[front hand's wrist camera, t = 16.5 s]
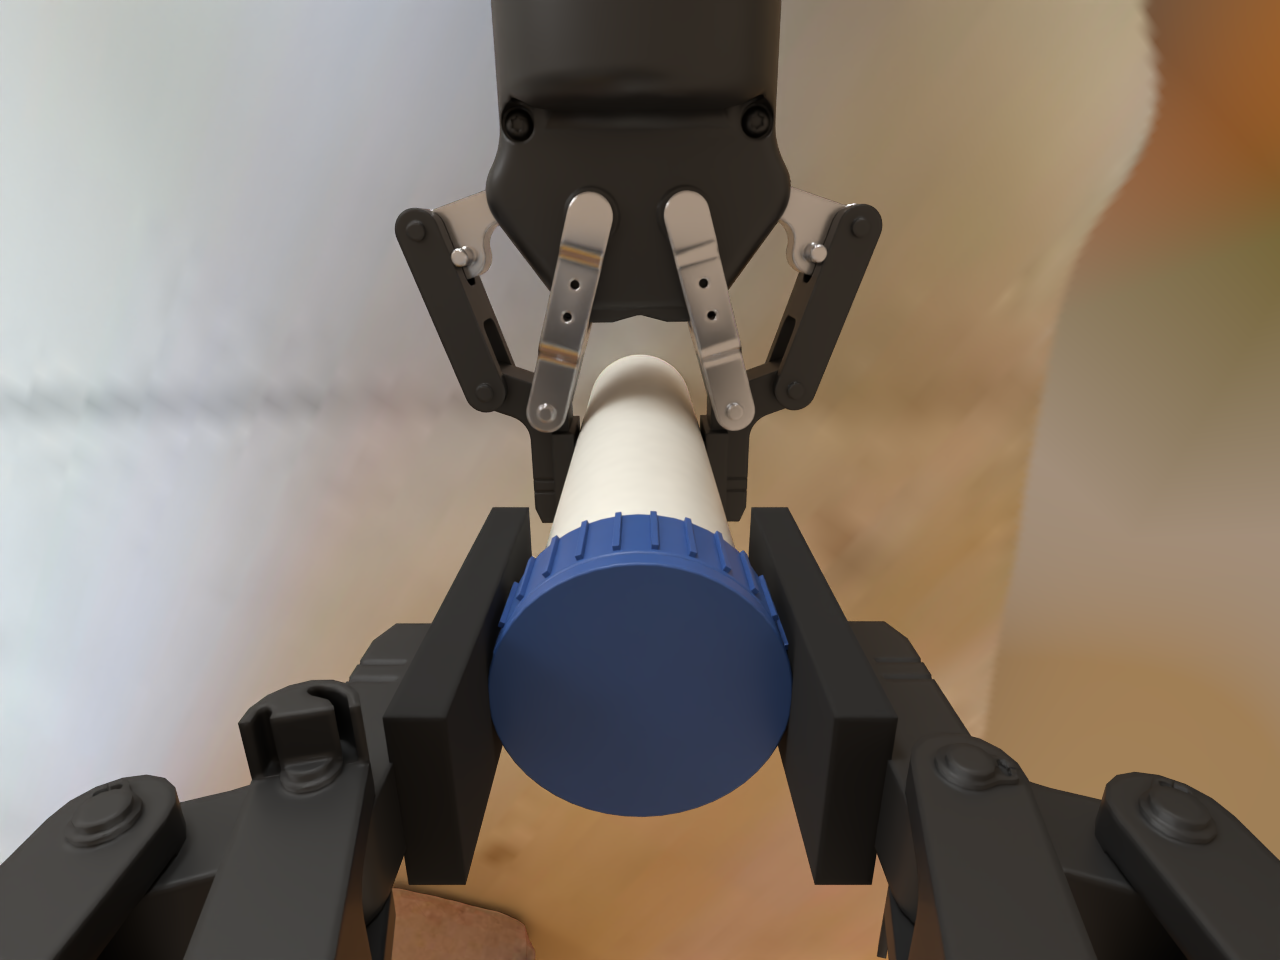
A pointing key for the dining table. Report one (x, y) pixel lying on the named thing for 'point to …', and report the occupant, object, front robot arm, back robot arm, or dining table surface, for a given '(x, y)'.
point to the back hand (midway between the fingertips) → (641, 527)
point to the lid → (640, 667)
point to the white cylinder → (640, 452)
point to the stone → (454, 931)
